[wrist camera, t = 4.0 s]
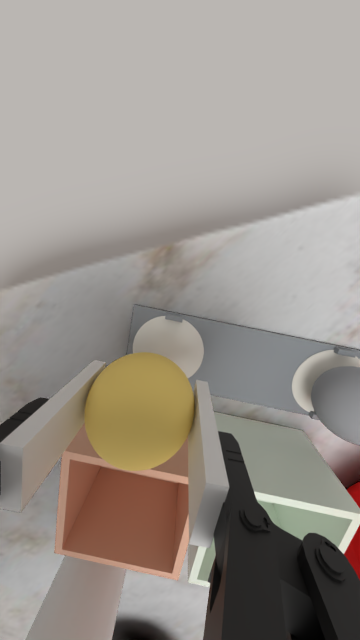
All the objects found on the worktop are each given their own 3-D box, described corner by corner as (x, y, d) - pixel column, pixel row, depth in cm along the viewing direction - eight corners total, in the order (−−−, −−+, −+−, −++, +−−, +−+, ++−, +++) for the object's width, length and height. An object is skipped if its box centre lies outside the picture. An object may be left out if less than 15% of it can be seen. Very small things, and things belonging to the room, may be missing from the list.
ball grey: (289, 404, 20) (331, 458, 14) (309, 349, 18) (364, 382, 13) (348, 416, 20) (415, 476, 14) (372, 362, 18) (458, 402, 12)
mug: (85, 488, 24) (-15, 687, 12) (139, 494, 24) (89, 702, 12) (89, 548, 26) (7, 765, 15) (138, 554, 26) (95, 780, 14)
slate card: (124, 375, 21) (121, 379, 20) (134, 304, 19) (131, 305, 18) (351, 422, 20) (359, 429, 19) (382, 354, 19) (392, 358, 18)
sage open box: (188, 484, 23) (187, 582, 16) (208, 410, 21) (217, 483, 14) (274, 503, 23) (313, 610, 16) (302, 430, 21) (364, 515, 13)
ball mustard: (105, 407, 15) (53, 491, 9) (115, 331, 14) (62, 371, 8) (183, 422, 15) (182, 515, 9) (200, 348, 14) (212, 401, 8)
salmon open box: (97, 465, 23) (54, 553, 16) (107, 389, 21) (62, 450, 14) (182, 483, 23) (178, 580, 16) (200, 409, 21) (206, 481, 14)
